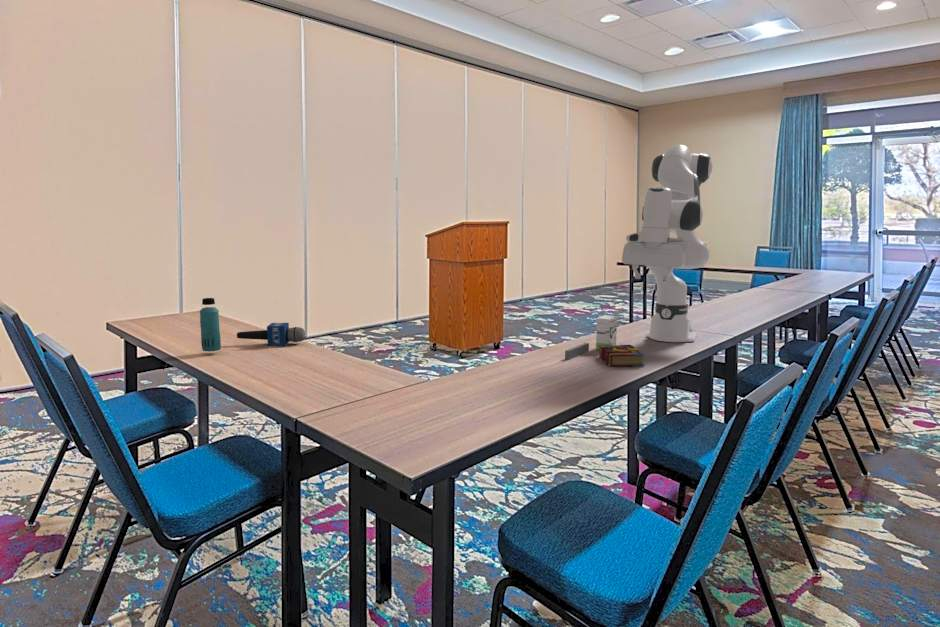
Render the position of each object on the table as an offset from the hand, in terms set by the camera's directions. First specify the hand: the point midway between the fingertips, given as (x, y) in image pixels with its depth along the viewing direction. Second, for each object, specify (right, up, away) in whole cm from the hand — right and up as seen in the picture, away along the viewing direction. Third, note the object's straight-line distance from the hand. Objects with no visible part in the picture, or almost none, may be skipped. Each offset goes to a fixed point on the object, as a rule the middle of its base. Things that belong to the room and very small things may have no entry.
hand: (651, 279), depth 205 cm
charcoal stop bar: (-22, -26, +16) cm, 37 cm away
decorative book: (-9, -28, +7) cm, 30 cm away
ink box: (-9, -24, +27) cm, 37 cm away
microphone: (-135, -23, +34) cm, 141 cm away
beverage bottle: (-151, -26, +18) cm, 154 cm away
